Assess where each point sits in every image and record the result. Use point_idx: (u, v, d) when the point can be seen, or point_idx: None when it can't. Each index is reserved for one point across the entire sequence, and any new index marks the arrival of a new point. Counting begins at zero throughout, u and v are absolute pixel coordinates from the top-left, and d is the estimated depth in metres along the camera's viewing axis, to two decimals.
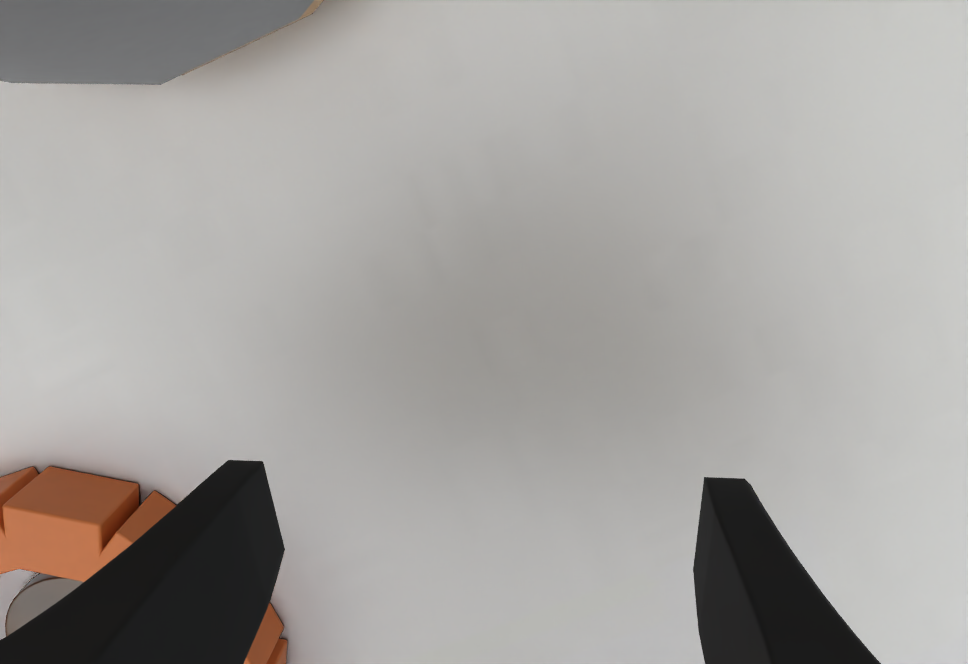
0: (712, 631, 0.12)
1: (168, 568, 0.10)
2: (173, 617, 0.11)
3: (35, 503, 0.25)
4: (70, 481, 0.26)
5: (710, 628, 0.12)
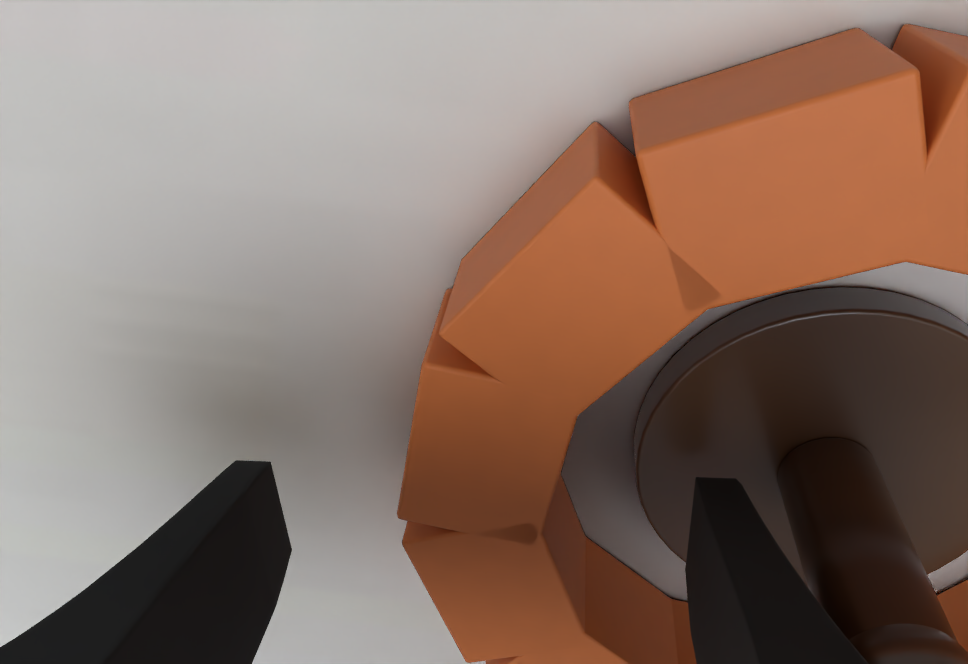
0: (703, 631, 0.12)
1: (178, 568, 0.10)
2: (182, 617, 0.11)
3: None
4: None
5: (701, 628, 0.12)
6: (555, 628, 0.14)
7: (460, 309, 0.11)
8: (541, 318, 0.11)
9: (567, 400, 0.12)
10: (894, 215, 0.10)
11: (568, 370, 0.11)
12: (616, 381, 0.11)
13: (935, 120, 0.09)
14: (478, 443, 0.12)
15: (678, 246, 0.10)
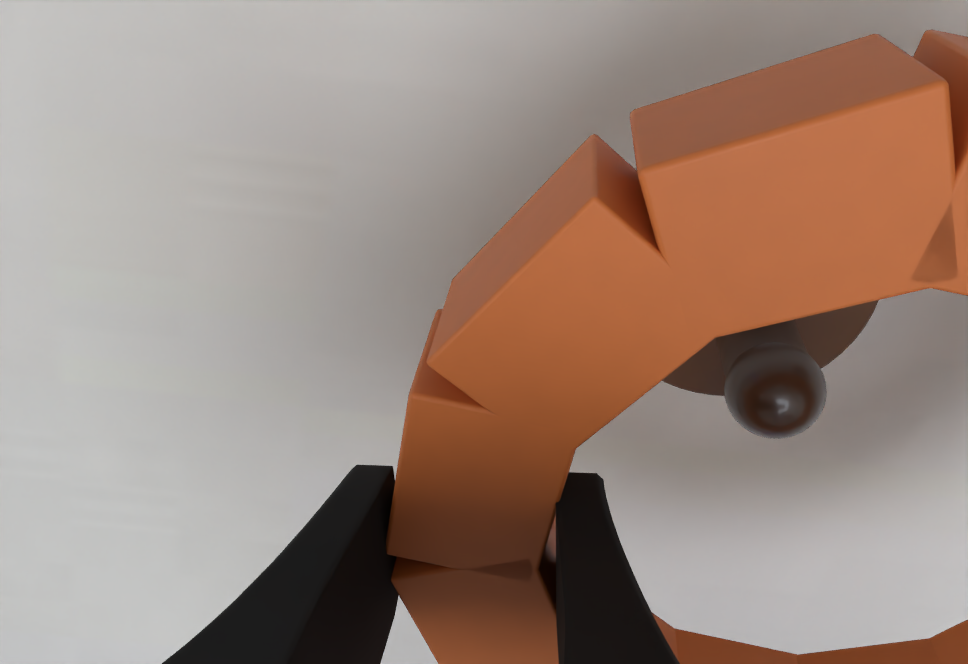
0: (558, 622, 0.12)
1: (329, 576, 0.10)
2: (331, 626, 0.10)
3: None
4: None
5: (557, 619, 0.12)
6: None
7: (449, 337, 0.10)
8: (535, 347, 0.10)
9: (564, 432, 0.11)
10: (918, 238, 0.09)
11: (565, 401, 0.11)
12: (617, 413, 0.11)
13: (964, 136, 0.09)
14: (469, 477, 0.12)
15: (684, 270, 0.10)
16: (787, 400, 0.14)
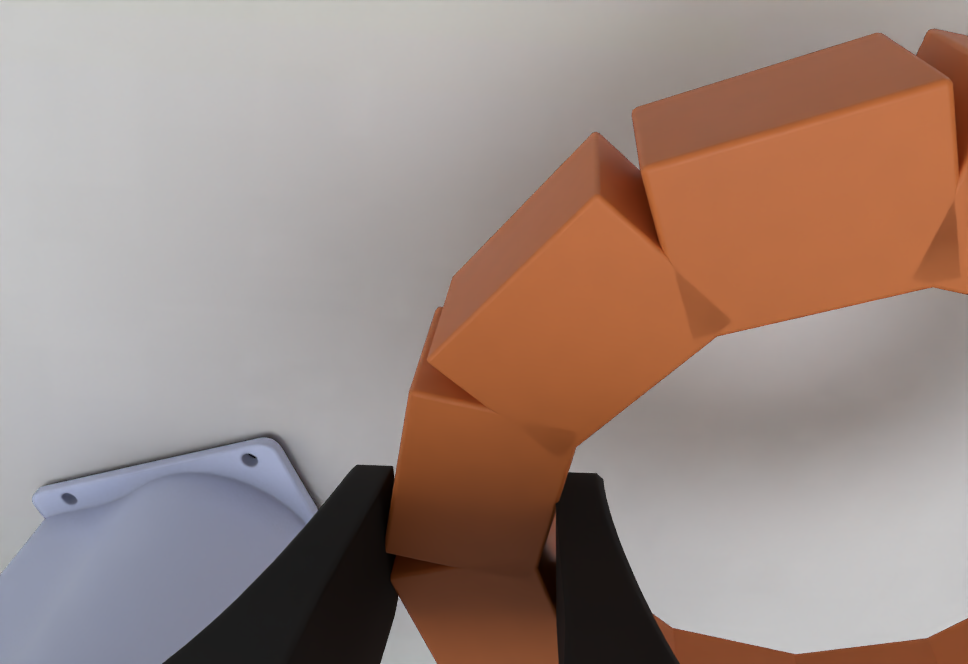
0: (558, 622, 0.12)
1: (329, 576, 0.10)
2: (331, 627, 0.10)
3: None
4: None
5: (557, 619, 0.12)
6: None
7: (450, 334, 0.10)
8: (537, 345, 0.10)
9: (565, 431, 0.11)
10: (921, 238, 0.09)
11: (566, 399, 0.11)
12: (617, 411, 0.11)
13: (967, 134, 0.09)
14: (469, 476, 0.11)
15: (685, 269, 0.10)
16: None
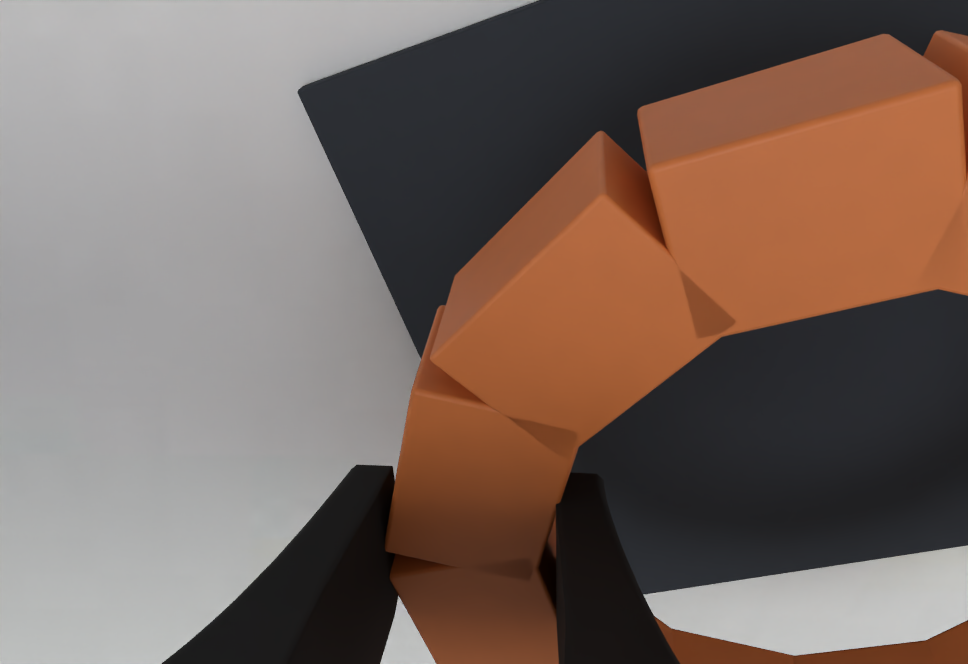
0: (558, 622, 0.12)
1: (328, 576, 0.10)
2: (331, 626, 0.10)
3: None
4: None
5: (558, 619, 0.12)
6: None
7: (453, 333, 0.10)
8: (541, 344, 0.10)
9: (567, 431, 0.11)
10: (928, 239, 0.09)
11: (569, 399, 0.11)
12: (621, 412, 0.11)
13: None
14: (470, 475, 0.11)
15: (691, 269, 0.10)
16: None
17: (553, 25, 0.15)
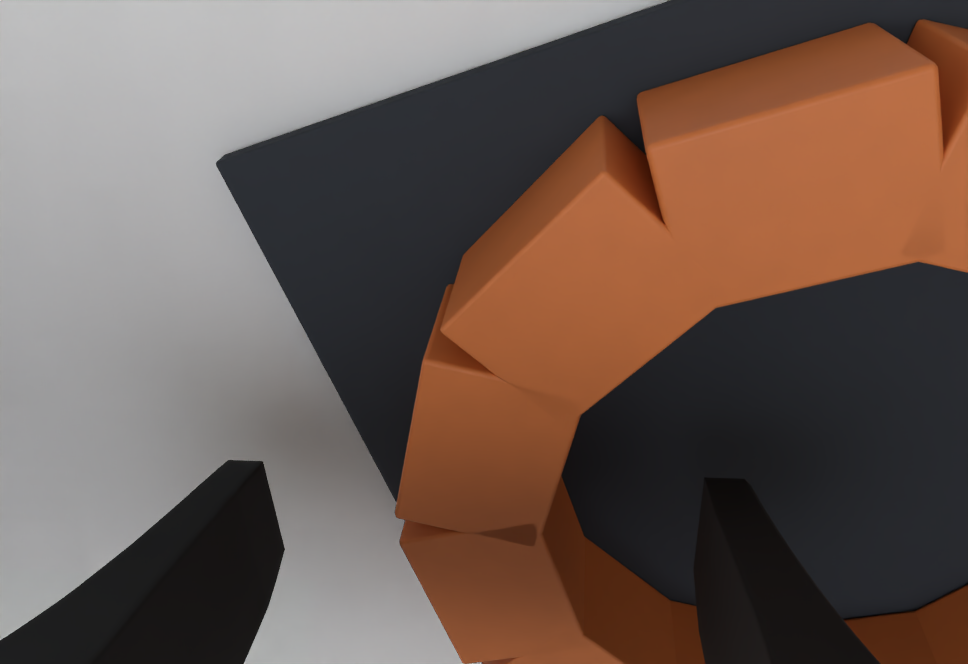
0: (712, 631, 0.12)
1: (168, 568, 0.10)
2: (173, 617, 0.11)
3: None
4: None
5: (710, 628, 0.12)
6: (554, 630, 0.14)
7: (462, 305, 0.11)
8: (545, 316, 0.11)
9: (570, 399, 0.11)
10: (908, 214, 0.10)
11: (572, 369, 0.11)
12: (621, 380, 0.11)
13: (951, 117, 0.09)
14: (477, 442, 0.12)
15: (686, 242, 0.10)
16: None
17: (544, 84, 0.12)
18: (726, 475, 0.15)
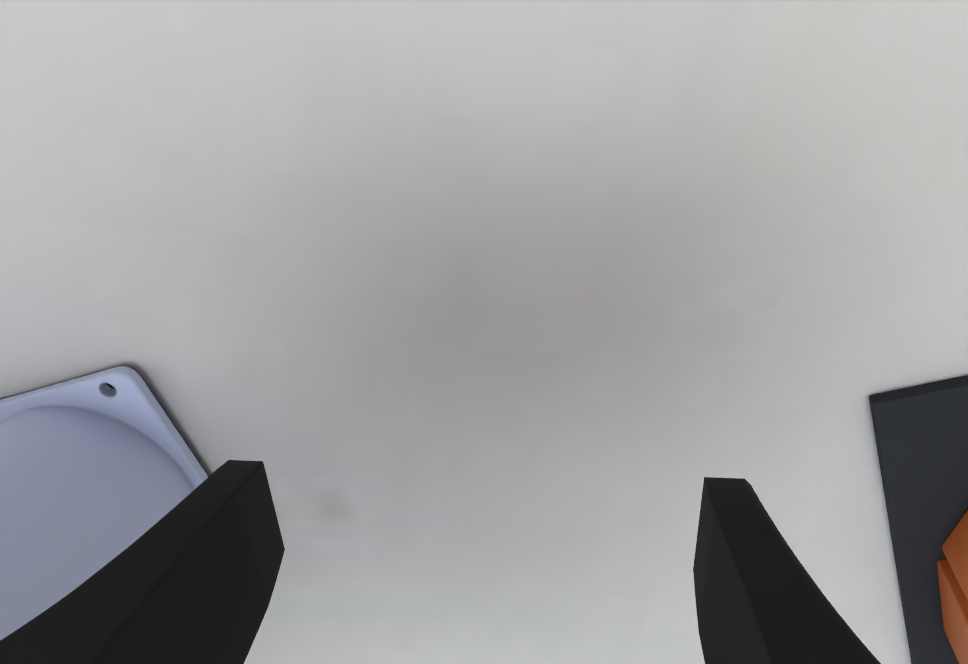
0: (712, 631, 0.12)
1: (168, 568, 0.10)
2: (173, 617, 0.11)
3: None
4: None
5: (710, 628, 0.12)
6: None
7: None
8: None
9: None
10: None
11: None
12: None
13: None
14: None
15: None
16: None
17: None
18: None
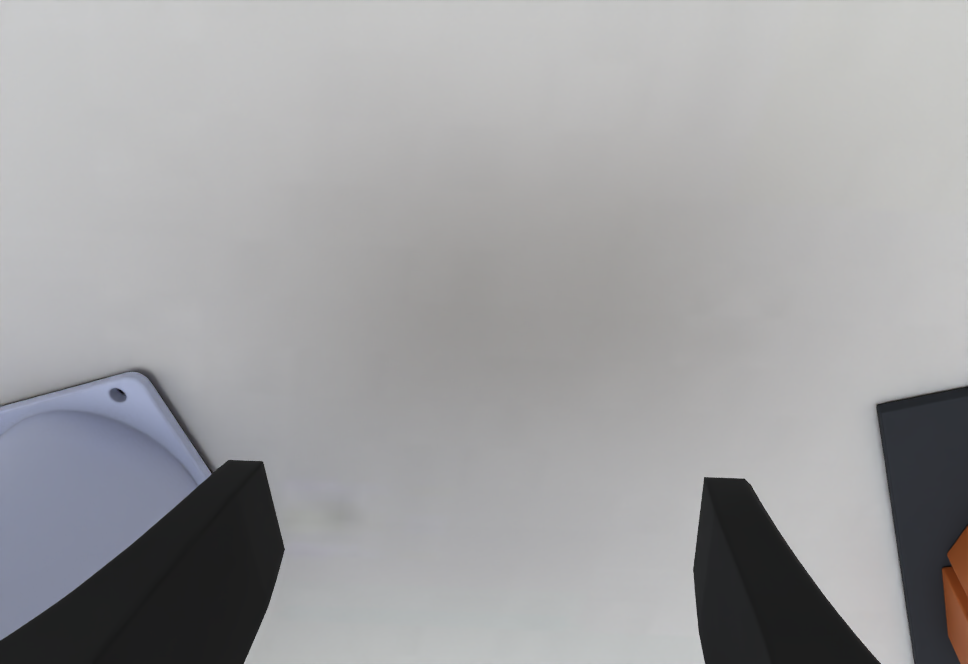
0: (712, 631, 0.12)
1: (168, 568, 0.10)
2: (173, 617, 0.11)
3: None
4: None
5: (710, 628, 0.12)
6: None
7: None
8: None
9: None
10: None
11: None
12: None
13: None
14: None
15: None
16: None
17: None
18: None
